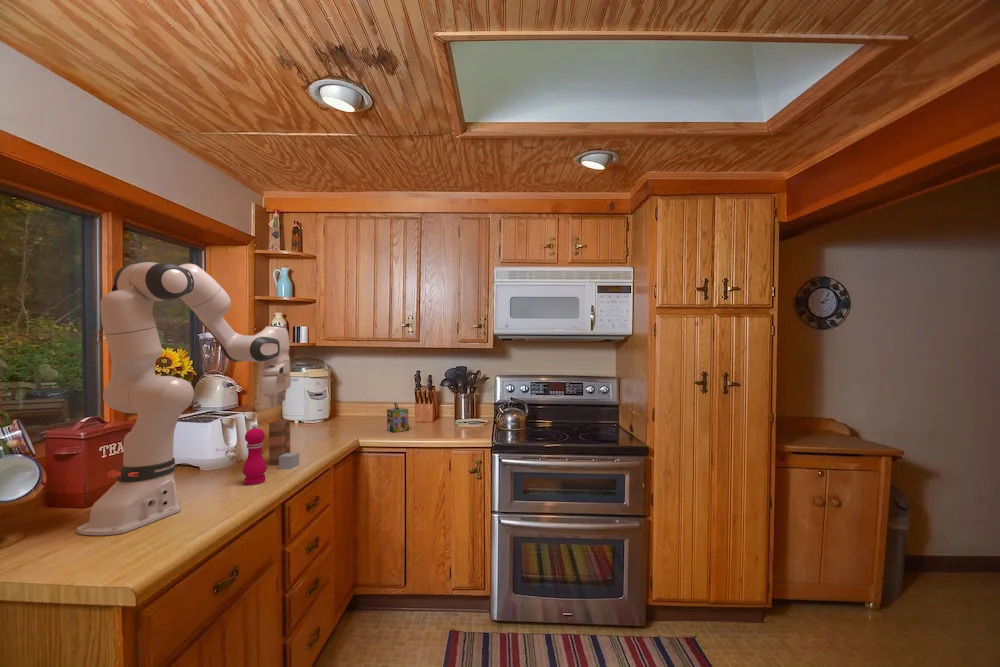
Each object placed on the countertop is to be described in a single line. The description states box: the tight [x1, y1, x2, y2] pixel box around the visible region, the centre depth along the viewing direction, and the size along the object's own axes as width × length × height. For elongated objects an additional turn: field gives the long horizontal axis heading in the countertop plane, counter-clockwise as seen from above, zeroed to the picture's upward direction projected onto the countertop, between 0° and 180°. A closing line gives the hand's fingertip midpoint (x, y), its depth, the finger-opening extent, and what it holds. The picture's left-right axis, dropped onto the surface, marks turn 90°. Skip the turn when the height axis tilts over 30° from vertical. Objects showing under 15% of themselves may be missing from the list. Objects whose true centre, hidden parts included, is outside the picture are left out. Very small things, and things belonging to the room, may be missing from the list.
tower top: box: [268, 420, 291, 438], centre depth 169 cm, size 6×6×6 cm
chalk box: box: [386, 402, 410, 434], centre depth 229 cm, size 9×9×15 cm
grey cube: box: [278, 452, 300, 470], centre depth 163 cm, size 5×5×5 cm
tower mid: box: [268, 434, 291, 452], centre depth 169 cm, size 6×6×6 cm
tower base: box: [268, 447, 291, 466], centre depth 168 cm, size 6×6×6 cm
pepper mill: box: [242, 423, 268, 486], centre depth 146 cm, size 7×7×20 cm
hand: (278, 403), depth 163 cm, fingers open, 8 cm apart
